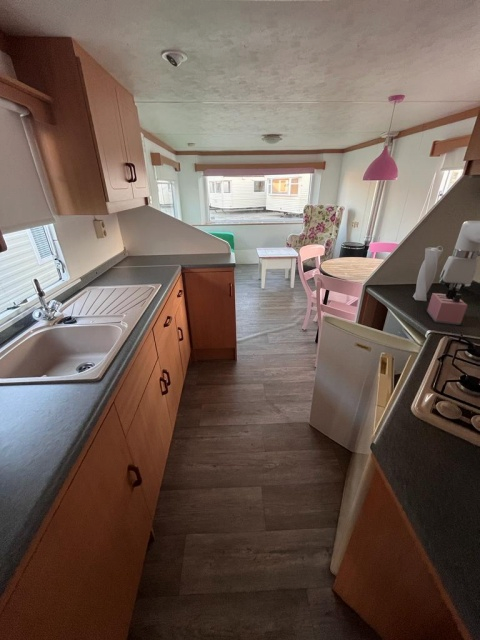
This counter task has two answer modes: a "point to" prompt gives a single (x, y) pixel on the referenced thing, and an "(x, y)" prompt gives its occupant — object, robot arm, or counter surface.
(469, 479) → the counter surface
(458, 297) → the slider
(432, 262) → the skyscraper
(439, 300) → the toaster
